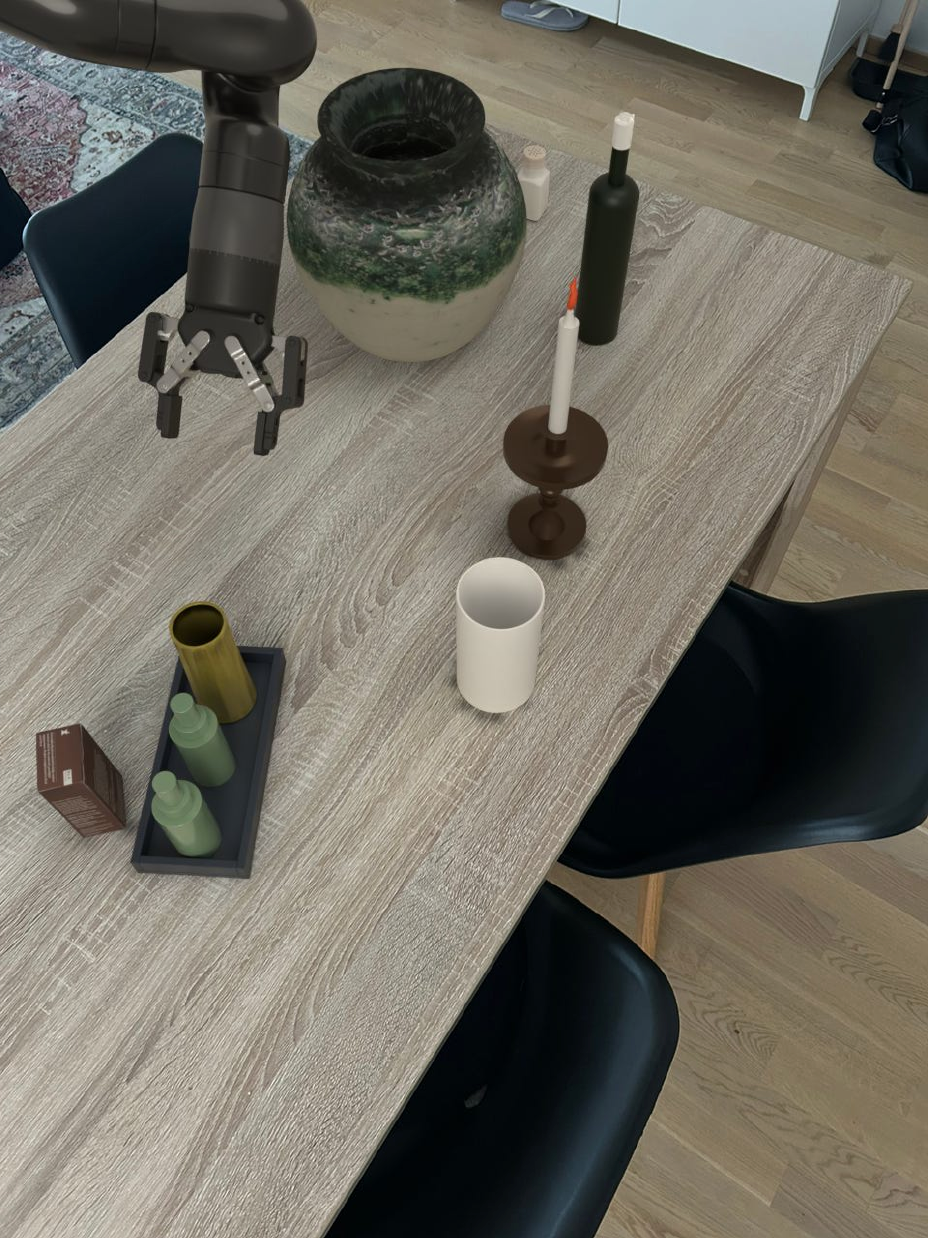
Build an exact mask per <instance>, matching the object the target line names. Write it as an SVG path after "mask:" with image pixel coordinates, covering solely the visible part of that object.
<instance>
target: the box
mask: <svg viewBox="0 0 928 1238" xmlns="http://www.w3.org/2000/svg"><path fill="white" fill-rule="evenodd" d="M35 759H36V760H35V761H36V788H37V789H36V791H37V793H38V794H39V795H40V796H41V797H42V798H43V799H44V800H45V801H46V802H48V803H49V804H50V806H51V807H52V808H54V810H56V812H57V813H58V814H59V815H60V816H61V817H63V819H64V820H65V821H66V822H67V823H68V825H70V826H71V827H72V828H73V829H74V830H75V832H77V833H78V834H79V835H80V836H81V837H82V838H84V839H85V838H88V837H93V836H99V835H103V834H107V833H111V832H116V831H120V830H124V829H126V813H125V812H126V811H125V797H124V785H123V775H122V774H121V772H120V771H119V770H118V768H117V767H116V766H115V764H114V763H113V762H112V761H111V760H110V759H111V758H109V757H108V756H107V754H106V753H105V751H104V750H103V749H102V748H101V747H100V745H99V744H98V743H97V742H96V740H95V739H94V738H93V736H92V735H91V733H90V732H89V731H88V730H87V728H86V727H85V726H84V725H83V723H81V722H78V723H75V724H70V725H67V726H62V727H61V726H60V727H57V728H52V729H48V730H43V731H39V732H36V733H35Z"/></svg>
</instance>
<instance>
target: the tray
mask: <svg viewBox="0 0 928 1238" xmlns="http://www.w3.org/2000/svg"><path fill="white" fill-rule="evenodd" d="M237 647H238V650H239V652H240V655H241V657H242V660H243V662H244V664H245V666H246V668H247V671H248V673H249V675H250V677H251V679H252V680H253V682H254V684H255V687H256V690H257V698H256V702H255V705H254V707H253V708H252V710H251V711H250V712H249V713H248V714H247V715H246V716H245V717H243V718H241V719H239V720H237V721H235V722H232V723H219V724H220V726H221V729H222V731H223V733H224V735H225V738H226V740H227V742H228V744H229V747H230V749H231V751H232V754H233V756H234V758H235V770H234V773H233V775H232V776H231V777H230V779H229V780H228V781H226V782H225V783H224V784H222V785H219V786H216V787H204V786H201V785H199V784H198V783H197V782H196V781H195V780H194V779H193V777H192V776H191V774H190V772H189V770H188V768H187V766H186V764H185V763H184V761H183V759H182V757H181V755H180V753H179V752H178V750H177V748H176V746H175V744H174V742H173V740H172V739H171V737H170V734H169V725H170V722H171V720H172V718H173V716H174V712H173V710H172V708H171V705H170V704H171V700H172V698H173V697H174V696H175V695H177V694H179V693H187V694H189V695H191V696H192V698H193V700H194V702H195V704H197V701H196V697H195V695H194V693H193V691H192V688H191V685H190V682H189V680H188V677H187V675H186V673H185V670H184V667H183V665H182V662H181V660H180V657H179V655H178V656H177V660H176V661H177V662H176V665H175V669H174V674H173V678H172V682H171V686H170V691H169V695H168V699H167V703H166V708H165V713H164V717H163V720H162V725H161V730H160V734H159V737H158V738H159V739H158V741H157V747H156V751H155V755H154V758H153V764H152V768H151V772H150V777H149V780H148V783H147V789H146V793H145V798H144V801H143V805H142V806H143V807H142V810H141V815H140V818H139V824H138V828H137V833H136V835H135V841H134V845H133V849H132V853H131V858H130V861H129V862H130V865H131V866H132V867H133V869H135V871H136V873H138V874H151V875H152V874H154V875H172V876H189V877H205V878H206V877H208V878H227V879H242V880H243V879H245V880H249V879H251V873H252V868H253V860H254V856H255V849H256V843H257V838H258V832H259V827H260V819H261V814H262V808H263V802H264V797H265V791H266V785H267V778H268V774H269V773H268V772H269V766H270V761H271V755H272V749H273V745H274V744H273V742H274V737H275V733H276V732H275V731H276V725H277V721H278V720H277V719H278V713H279V709H280V703H281V697H282V696H281V695H282V689H283V686H284V685H283V684H284V678H285V673H286V667H287V660H286V659H287V658H286V655H285V651H284V648H283V647H274V646H273V647H271V646H254V645H253V646H251V645H250V646H249V645H237ZM162 771H169V772H171V773H173V774H174V775H175V777H176V779H177V780H185V781H189V782H191V783H193V784H194V785H196V786H197V787H198V789H199V790H200V792H201V794H202V796H203V798H204V799H205V801H206V803H207V805H208V807H209V809H210V811H211V812H212V814H213V816H214V818H215V820H216V822H217V824H218V825H219V827H220V829H221V833H222V839H221V844H220V846H219V848H218V850H217V851H216V852H215V853H214V854H213V855H212V856H211V857H209V858H207V859H197V858H182V857H181V856H180V855H179V854H178V852H177V851H176V849H175V848H174V846H173V845H172V843H171V842H170V840H169V839H168V837H167V836H166V834H165V833H164V831H163V830H162V828H161V827H160V825H159V824H158V822H157V821H156V819H155V818H154V816H153V814H152V809H151V805H152V800H153V798H154V795H155V794H156V792H155V791H154V789H153V787H152V780H153V778H154V777H155V775H157V774H158V773H160V772H162Z"/></svg>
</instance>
